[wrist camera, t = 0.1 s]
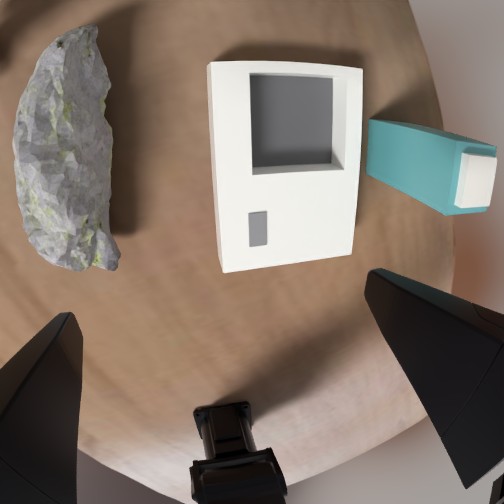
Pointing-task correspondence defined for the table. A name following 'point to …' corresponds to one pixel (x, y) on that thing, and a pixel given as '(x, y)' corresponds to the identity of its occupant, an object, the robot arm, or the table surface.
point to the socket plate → (284, 160)
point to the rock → (67, 155)
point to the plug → (432, 165)
